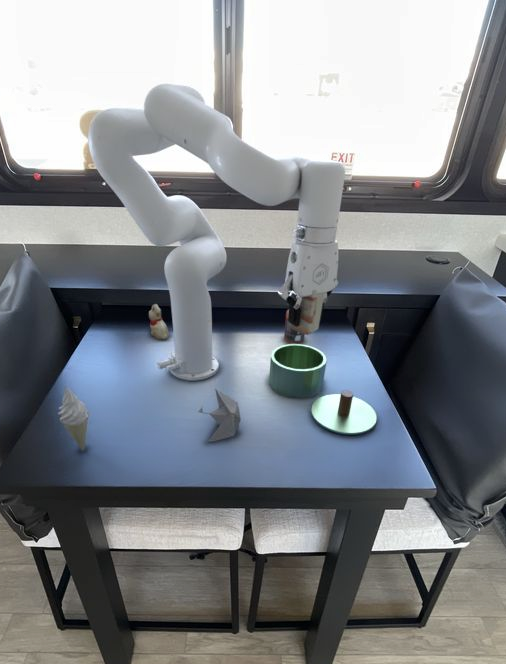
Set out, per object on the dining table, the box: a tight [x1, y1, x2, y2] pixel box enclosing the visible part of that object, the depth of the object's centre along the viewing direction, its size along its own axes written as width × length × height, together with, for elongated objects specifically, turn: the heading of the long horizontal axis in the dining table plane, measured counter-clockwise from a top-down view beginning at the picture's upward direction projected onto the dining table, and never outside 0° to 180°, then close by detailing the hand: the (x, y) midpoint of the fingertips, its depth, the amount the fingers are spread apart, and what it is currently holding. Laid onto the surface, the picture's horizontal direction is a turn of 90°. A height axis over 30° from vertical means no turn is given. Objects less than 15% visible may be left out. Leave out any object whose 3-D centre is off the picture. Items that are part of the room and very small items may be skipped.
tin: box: [268, 343, 328, 399], centre depth 101 cm, size 13×13×8 cm
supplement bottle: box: [283, 309, 305, 344], centre depth 120 cm, size 6×6×11 cm
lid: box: [310, 389, 378, 436], centre depth 91 cm, size 14×14×6 cm
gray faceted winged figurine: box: [197, 388, 241, 443], centre depth 87 cm, size 12×6×9 cm
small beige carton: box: [289, 290, 324, 336], centre depth 87 cm, size 5×4×10 cm
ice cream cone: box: [57, 385, 90, 452], centre depth 77 cm, size 5×5×15 cm
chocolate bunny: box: [148, 303, 170, 341], centre depth 122 cm, size 6×8×10 cm
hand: (304, 320), depth 89 cm, fingers closed on small beige carton, 5 cm apart
